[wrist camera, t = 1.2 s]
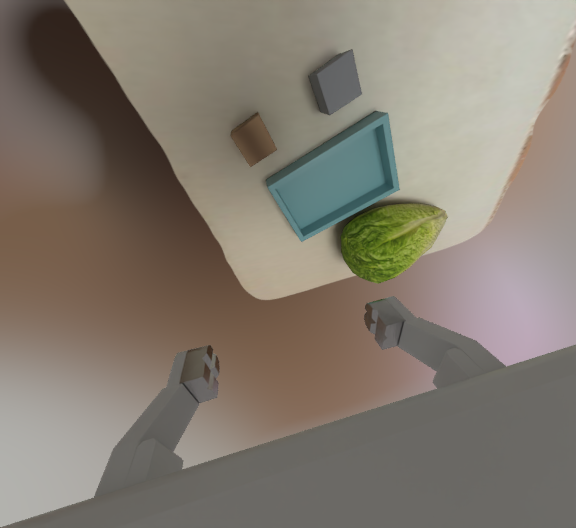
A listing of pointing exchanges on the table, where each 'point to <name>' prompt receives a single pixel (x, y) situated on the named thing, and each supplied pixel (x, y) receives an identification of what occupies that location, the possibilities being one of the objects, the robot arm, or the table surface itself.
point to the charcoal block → (336, 83)
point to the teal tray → (338, 177)
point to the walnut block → (253, 140)
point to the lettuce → (390, 239)
